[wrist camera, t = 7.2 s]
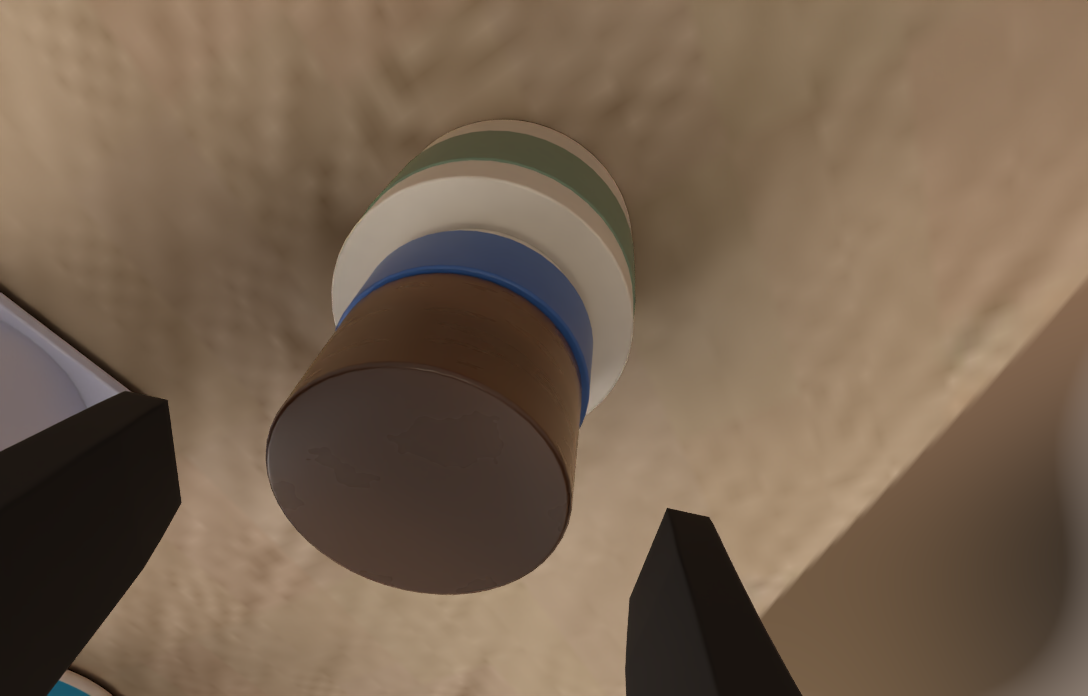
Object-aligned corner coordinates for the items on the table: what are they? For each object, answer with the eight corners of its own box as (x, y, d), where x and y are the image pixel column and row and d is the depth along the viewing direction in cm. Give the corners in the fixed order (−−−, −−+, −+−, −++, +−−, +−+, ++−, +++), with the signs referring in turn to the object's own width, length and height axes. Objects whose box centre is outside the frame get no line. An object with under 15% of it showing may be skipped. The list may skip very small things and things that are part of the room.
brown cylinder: (456, 512, 14) (422, 630, 12) (282, 365, 13) (203, 466, 10) (634, 406, 12) (636, 521, 10) (456, 217, 11) (408, 299, 8)
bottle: (503, 384, 20) (457, 556, 15) (340, 224, 18) (214, 357, 13) (683, 261, 18) (710, 416, 12) (519, 56, 16) (459, 130, 10)
